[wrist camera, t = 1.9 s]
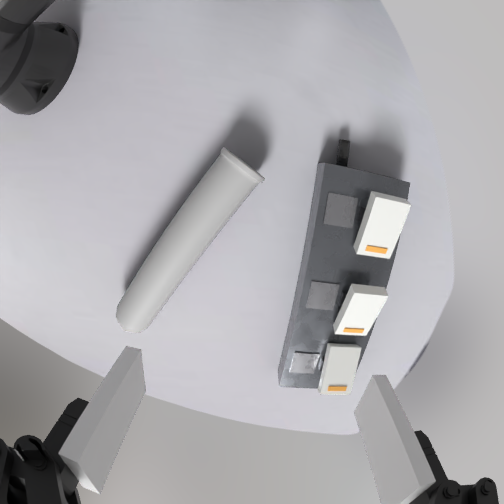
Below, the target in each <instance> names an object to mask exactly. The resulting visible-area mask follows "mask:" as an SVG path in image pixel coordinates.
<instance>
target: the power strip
mask: <svg viewBox="0 0 504 504" xmlns="http://www.w3.org/2000/svg"><path fill="white" fill-rule="evenodd" d="M349 148H350V141H347V140H339V147H338V155H337V162H336V165H334V164H329V163H318V167H317V173H316V180H315V187H314V193H313V199H312V206H311V212H310V218H309V223H308V229H307V235H306V240H305V246H304V251H303V257H302V262H301V267H300V272H299V277H298V282H297V287H296V292H295V297H294V302H293V307H292V311H291V316H290V321H289V325H288V330H287V334H286V338H285V343H284V347H283V351H282V355H281V360H280V364H279V368H278V378H279V386H280V387H295V388H317V389H318V386H319V382H320V377H321V373H322V368H323V364H324V359H325V354H326V349H327V344H328V343H335V344H356V345H359V346H360V347H361V353H360V357H359V361H358V366H359V364H360V361H361V359H362V356H363V354H364V351H365V349H366V346H367V344H368V341H369V338H370V336H371V333H372V330H373V327H374V324H375V321H376V320H375V321H374V323H373V325H372V327H371V328H370V330H369V332H368V333H367V335H366V336H361V335H342V334H335V332H334V327H333V324H334V322H335V320H336V318H337V316H338V313H339V311H340V309H341V307H342V304H343V302H344V300H345V298H346V295H347V293H348V291H349V288H350V286H351V284H360V285H369V286H378V287H385V289H386V287H387V284H388V280H389V277H390V273H391V270H392V266H393V262H394V258H395V254H396V250H397V246H398V242H399V238H400V236H399V238H398V240H397V243H396V245H395V248H394V250H393V252H392V255H391V257H390V259H387V258H380V257H374V256H367V255H360V254H356V252H355V249H354V247H353V246H354V243H355V240H356V237H357V234H358V231H359V228H360V225H361V222H362V219H363V216H364V213H365V210H366V207H367V204H368V200H369V197H370V194H371V191H374V192H379V193H383V194H387V195H391V196H396V197H400V198H404V199H406V200H407V199H408V193H409V187H410V183H409V182H405V181H402V180H398V179H394V178H391V177H387V176H383V175H379V174H375V173H370V172H366V171H362V170H358V169H353V168H348V167H347V162H348V155H349ZM376 319H377V318H376ZM358 366H357V369H358ZM356 371H357V370H356Z"/></svg>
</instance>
